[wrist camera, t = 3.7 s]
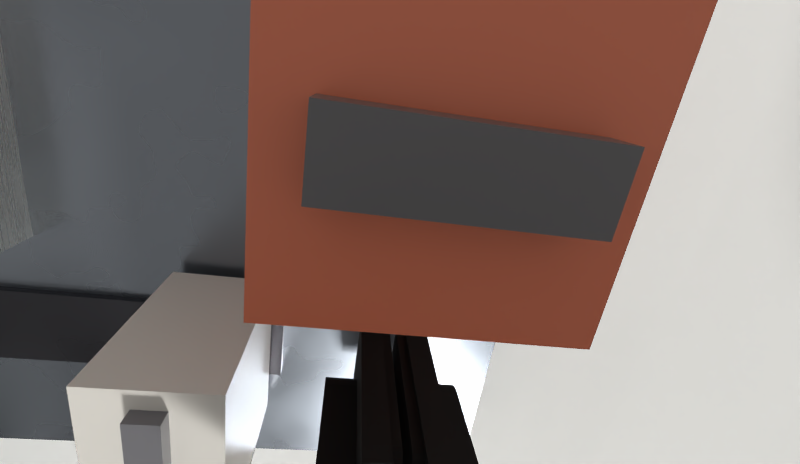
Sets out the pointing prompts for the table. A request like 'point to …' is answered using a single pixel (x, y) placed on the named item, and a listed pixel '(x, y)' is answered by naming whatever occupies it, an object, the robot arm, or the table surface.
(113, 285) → the panel
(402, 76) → the cap
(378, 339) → the robot arm
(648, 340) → the table surface
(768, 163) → the table surface
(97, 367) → the block
